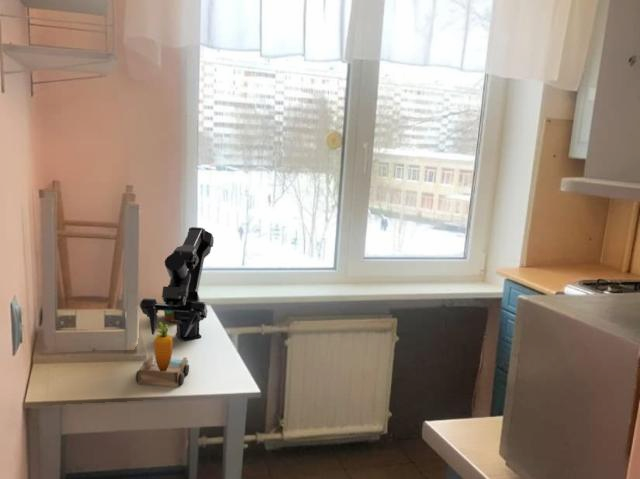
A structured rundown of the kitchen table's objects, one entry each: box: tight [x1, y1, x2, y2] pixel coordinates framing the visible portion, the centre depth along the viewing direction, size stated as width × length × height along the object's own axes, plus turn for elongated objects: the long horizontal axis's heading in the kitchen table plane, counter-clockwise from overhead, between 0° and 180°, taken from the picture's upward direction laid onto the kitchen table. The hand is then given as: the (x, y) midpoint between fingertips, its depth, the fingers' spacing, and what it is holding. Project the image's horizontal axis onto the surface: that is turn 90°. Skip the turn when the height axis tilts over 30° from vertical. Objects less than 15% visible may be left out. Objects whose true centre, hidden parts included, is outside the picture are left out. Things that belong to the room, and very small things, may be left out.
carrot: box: [153, 321, 174, 371], centre depth 165 cm, size 5×5×15 cm
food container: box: [160, 296, 178, 324], centre depth 211 cm, size 12×6×10 cm, turn 20°
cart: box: [135, 354, 190, 388], centre depth 169 cm, size 17×13×4 cm
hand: (168, 335), depth 170 cm, fingers open, 9 cm apart
